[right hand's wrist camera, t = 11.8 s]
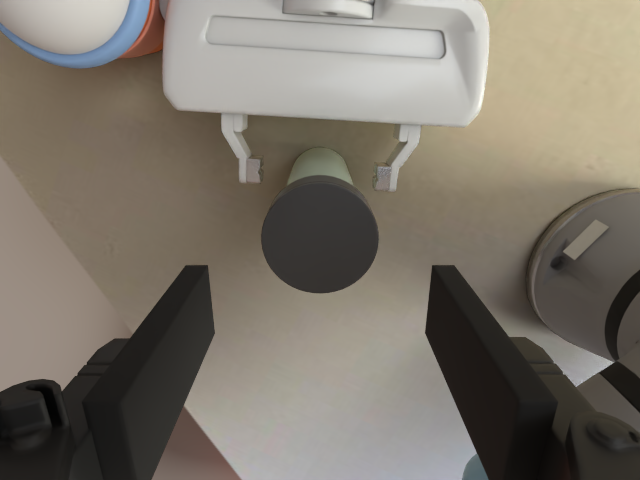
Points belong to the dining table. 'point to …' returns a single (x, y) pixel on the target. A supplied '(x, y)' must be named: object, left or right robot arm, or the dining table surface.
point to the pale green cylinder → (319, 165)
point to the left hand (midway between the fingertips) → (317, 185)
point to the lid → (320, 234)
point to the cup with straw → (83, 29)
